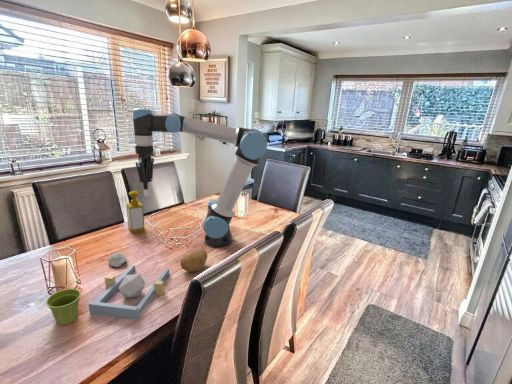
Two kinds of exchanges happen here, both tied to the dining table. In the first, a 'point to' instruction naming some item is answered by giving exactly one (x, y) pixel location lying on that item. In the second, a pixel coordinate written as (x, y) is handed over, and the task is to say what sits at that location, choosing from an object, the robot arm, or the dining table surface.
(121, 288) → the faceted grey rock
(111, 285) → the beam track
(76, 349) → the dining table surface
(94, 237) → the dining table surface
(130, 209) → the soap bottle
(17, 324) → the dining table surface
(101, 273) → the dining table surface
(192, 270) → the potato
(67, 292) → the plant pot
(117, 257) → the grey stone
